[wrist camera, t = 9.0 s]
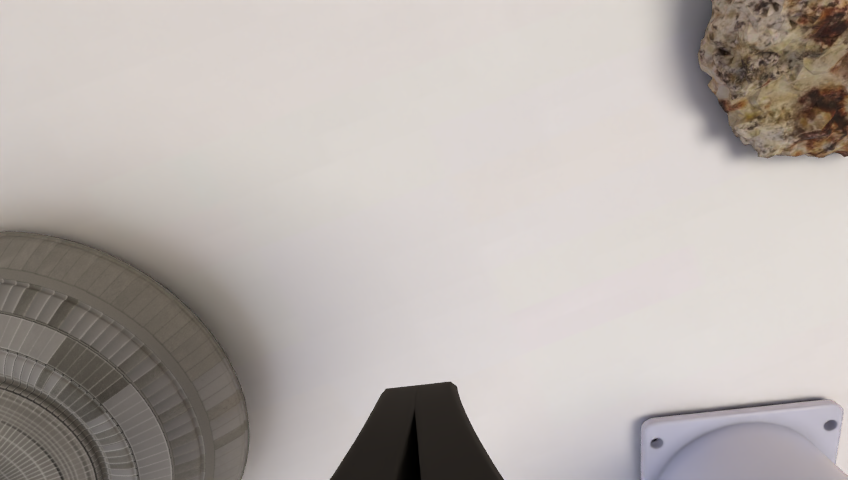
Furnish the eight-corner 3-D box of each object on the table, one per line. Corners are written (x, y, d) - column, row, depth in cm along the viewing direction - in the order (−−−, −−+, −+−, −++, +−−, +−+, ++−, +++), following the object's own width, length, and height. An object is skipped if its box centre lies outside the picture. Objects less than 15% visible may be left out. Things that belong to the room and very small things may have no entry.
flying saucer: (143, 161, 17) (14, 192, 12) (319, 478, 21) (284, 607, 16) (-191, 298, 18) (-435, 380, 13) (34, 568, 23) (-85, 711, 17)
